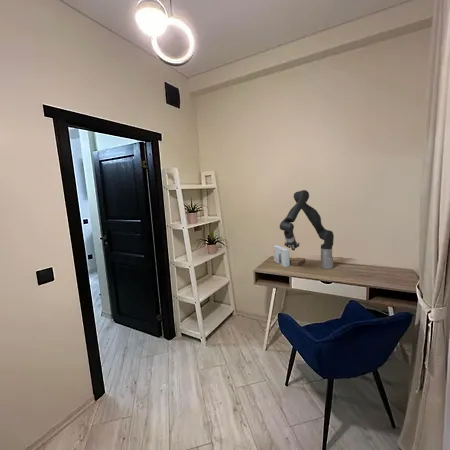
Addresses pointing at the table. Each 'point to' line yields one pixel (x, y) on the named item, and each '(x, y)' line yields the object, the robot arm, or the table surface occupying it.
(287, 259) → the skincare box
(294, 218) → the robot arm
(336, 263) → the table surface
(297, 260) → the walnut block
